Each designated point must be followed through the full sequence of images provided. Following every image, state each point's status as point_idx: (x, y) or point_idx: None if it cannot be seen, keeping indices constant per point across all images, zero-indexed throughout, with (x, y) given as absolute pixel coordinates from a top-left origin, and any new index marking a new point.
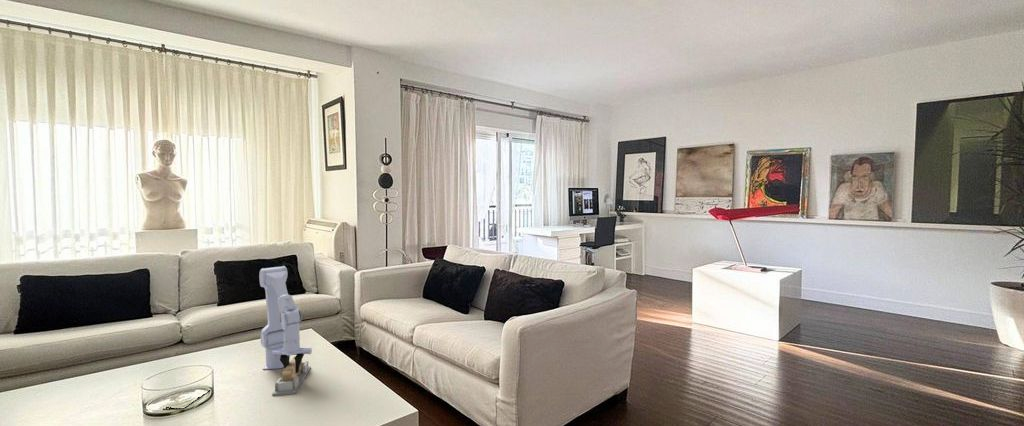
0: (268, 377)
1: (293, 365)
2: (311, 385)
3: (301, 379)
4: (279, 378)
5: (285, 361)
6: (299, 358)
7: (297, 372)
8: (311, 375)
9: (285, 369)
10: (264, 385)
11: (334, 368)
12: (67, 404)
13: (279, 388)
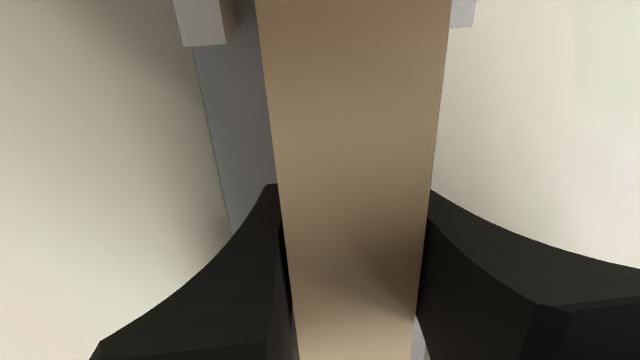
0: (547, 238)
1: (317, 235)
2: (42, 10)
3: (226, 145)
4: (466, 3)
5: (504, 270)
6: (116, 350)
7: (264, 186)
8: (191, 250)
9: (424, 50)
10: (573, 87)
11: (54, 350)
12: None
13: None
